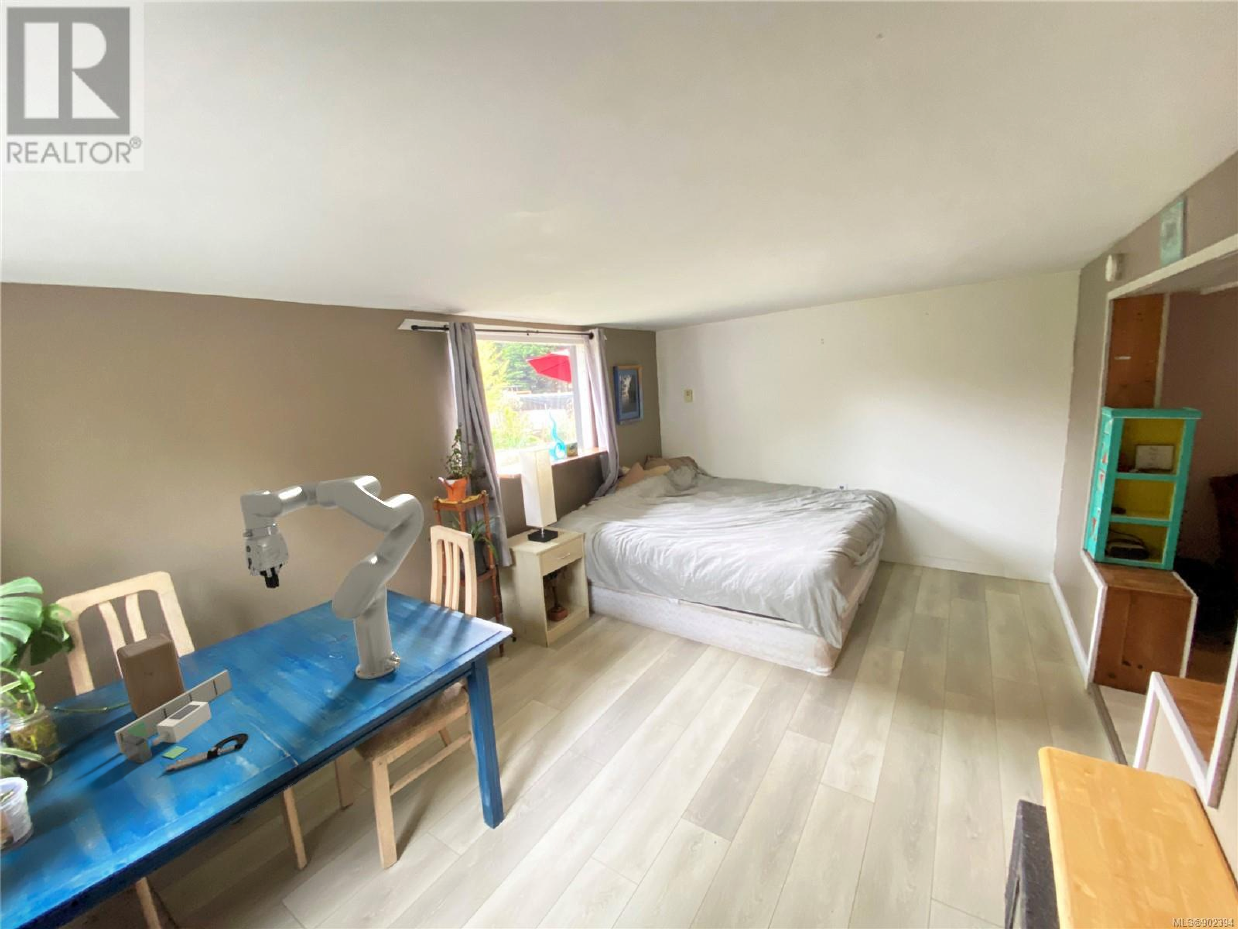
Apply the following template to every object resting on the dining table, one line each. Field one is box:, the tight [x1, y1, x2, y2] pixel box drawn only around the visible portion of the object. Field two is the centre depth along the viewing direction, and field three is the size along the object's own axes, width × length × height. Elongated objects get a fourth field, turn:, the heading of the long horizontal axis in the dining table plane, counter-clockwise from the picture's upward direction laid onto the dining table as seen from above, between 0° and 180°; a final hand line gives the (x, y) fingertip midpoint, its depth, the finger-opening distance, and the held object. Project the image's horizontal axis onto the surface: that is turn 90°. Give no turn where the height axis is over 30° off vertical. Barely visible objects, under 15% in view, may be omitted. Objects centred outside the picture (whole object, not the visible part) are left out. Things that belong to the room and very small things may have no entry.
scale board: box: [114, 669, 233, 754], centre depth 126 cm, size 1×26×6 cm, turn 164°
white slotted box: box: [150, 701, 212, 747], centre depth 120 cm, size 5×12×5 cm, turn 172°
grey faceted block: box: [122, 735, 153, 765], centre depth 112 cm, size 6×2×6 cm, turn 74°
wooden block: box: [115, 632, 186, 719], centre depth 130 cm, size 10×10×20 cm
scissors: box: [165, 732, 249, 772], centre depth 114 cm, size 15×7×2 cm, turn 118°
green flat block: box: [162, 745, 188, 760], centre depth 114 cm, size 4×3×1 cm
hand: (273, 586), depth 141 cm, fingers closed
